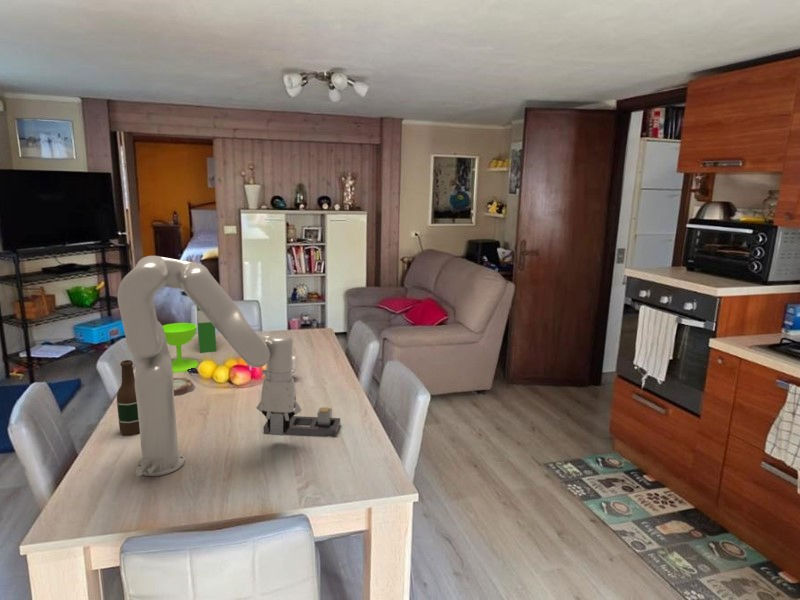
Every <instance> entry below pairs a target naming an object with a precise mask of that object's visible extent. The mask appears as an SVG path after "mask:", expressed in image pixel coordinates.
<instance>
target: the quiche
mask: <svg viewBox="0 0 800 600" xmlns="http://www.w3.org/2000/svg"><path fill="white" fill-rule="evenodd" d="M173 383H174V397H176V396H177V397H178V396H184V395H186V394H188V393H192V392H194V391H195V389H196V386H195V384H194V383H193V381H192V380H191V379H189V378H186V377H173Z"/></svg>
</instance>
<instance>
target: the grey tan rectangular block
mask: <svg viewBox="0 0 800 600" xmlns="http://www.w3.org/2000/svg"><path fill="white" fill-rule="evenodd" d="M332 413H333V409H332V408H330V407H324V406H322V407H320V408H318V412H317V417H318V427H325V428H332V427H333V426H332V418H333V414H332Z"/></svg>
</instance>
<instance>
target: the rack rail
mask: <svg viewBox="0 0 800 600" xmlns="http://www.w3.org/2000/svg"><path fill="white" fill-rule="evenodd" d="M340 428H341V418H339V417H332V428H325V427H318V416H300V415H294V416H293V417H292V418H291V419H290V428H289V429H288V430H287V432H286V433H284V435H290V436H306V437H307V436H308V437H310V436H312V437H327V436H332V437H331V438H336V437H337V435H338V432H339V430H340ZM263 434H267V435H270V432H269V428H268V427H267V421H266V422H265V424H264V425H263Z"/></svg>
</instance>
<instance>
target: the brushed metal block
mask: <svg viewBox="0 0 800 600" xmlns="http://www.w3.org/2000/svg"><path fill="white" fill-rule="evenodd" d="M284 420H285V415H284V413H280V412H271V418H270V434H269V435H271V436H272V435H273V436H284V435H285V434H284Z"/></svg>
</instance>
